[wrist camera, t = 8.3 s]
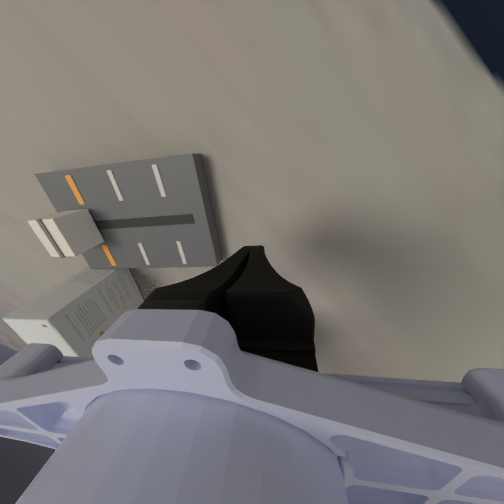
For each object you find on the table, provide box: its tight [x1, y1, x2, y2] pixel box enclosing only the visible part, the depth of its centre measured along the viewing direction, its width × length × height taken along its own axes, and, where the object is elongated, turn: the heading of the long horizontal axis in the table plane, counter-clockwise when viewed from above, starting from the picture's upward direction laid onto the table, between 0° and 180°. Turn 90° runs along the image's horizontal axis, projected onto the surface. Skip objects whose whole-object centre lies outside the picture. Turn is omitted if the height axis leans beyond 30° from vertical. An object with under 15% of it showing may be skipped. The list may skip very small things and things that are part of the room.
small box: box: [3, 266, 144, 358], centre depth 24 cm, size 8×6×10 cm
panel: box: [35, 154, 222, 269], centre depth 22 cm, size 12×18×2 cm, turn 96°
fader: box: [28, 209, 104, 258], centre depth 20 cm, size 4×3×4 cm
